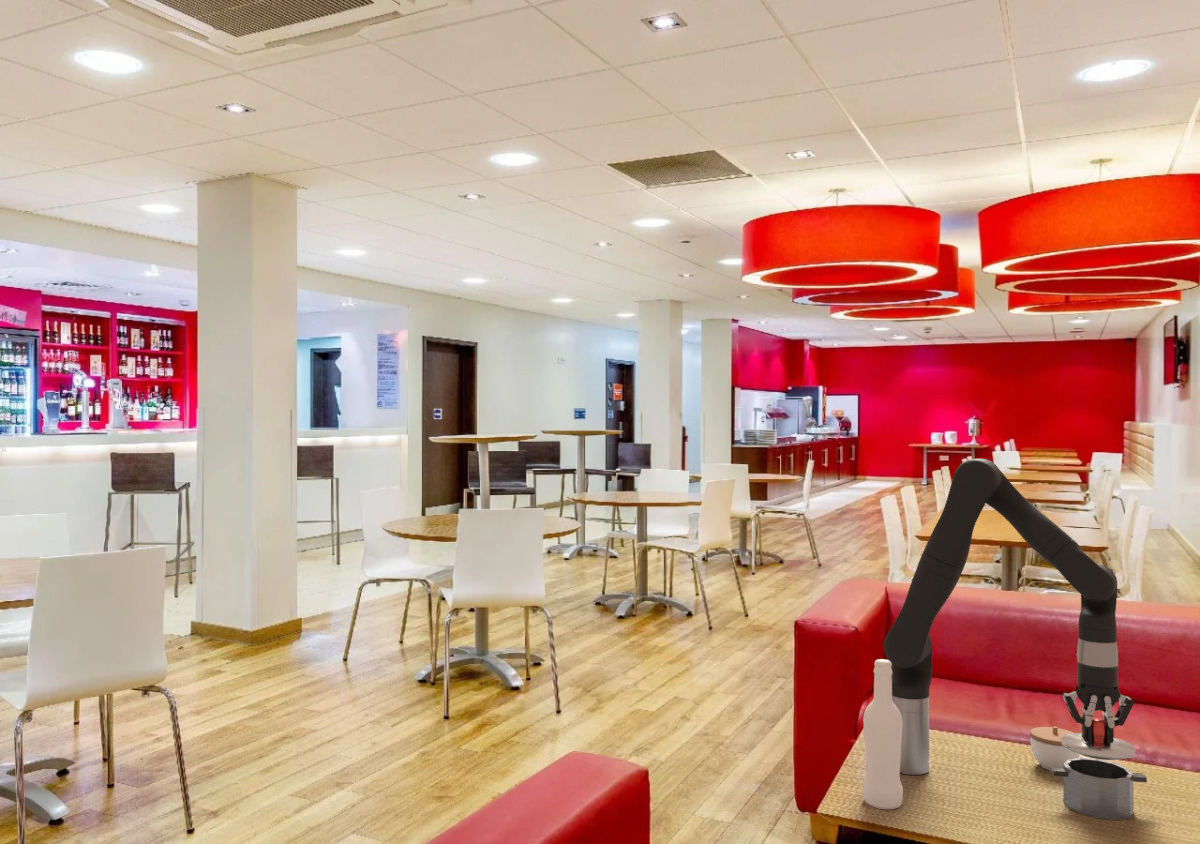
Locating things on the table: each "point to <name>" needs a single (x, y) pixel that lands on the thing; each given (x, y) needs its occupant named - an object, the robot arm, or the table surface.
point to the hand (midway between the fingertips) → (1097, 743)
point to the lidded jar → (1050, 747)
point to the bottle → (882, 743)
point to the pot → (1098, 788)
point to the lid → (1098, 744)
